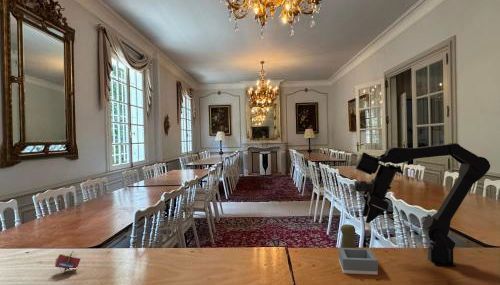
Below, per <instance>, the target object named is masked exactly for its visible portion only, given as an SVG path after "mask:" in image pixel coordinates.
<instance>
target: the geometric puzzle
mask: <svg viewBox="0 0 500 285" xmlns="http://www.w3.org/2000/svg"><path fill="white" fill-rule="evenodd" d="M67 253H69V251H68V252H66V254H67ZM66 254H63V253H62V254H60V253H59V255H58V256H57V258H56V259H55V262H54V267H55V268H57V269H58V268H59V270H60V271H62V270H61V268H62V269H64V270H65V269H66V270H68V271H71V270H70V269H69V268H76V267H77V268H78V266H79V264H80V262H81V258H79V257H77V256H76V255H77V254H76V252H74V251H71V253H70V254H69V255H66ZM73 254H74V255H73ZM75 254H76V255H75Z"/></svg>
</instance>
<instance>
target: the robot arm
mask: <svg viewBox="0 0 500 285" xmlns="http://www.w3.org/2000/svg"><path fill="white" fill-rule="evenodd" d="M443 156H444V157H445V156H450V157H452V159H454V160H455V161H456V162H457V163H459V164H460V165H459V168H458V177H457V178H456V180H455V182H454V184H453V186H452V187H451V189H450V191H449V192H448V194H447V195H446V197H445V199H444V200H443V202H442V204H441V205H440V206H439V207H438V209H437V212H436V213H434V214H433V215H431V214H427V215H426V218H425V219H424V221H423V222H421V224H422V232H423V234H424V235H425V236H426V237H427V238H428V239H429V241H431V242H429V246H428V248H427V251H428V252H427V259H428V260H429V261H430V262H431V263H432V264H433V265H434V266H438V267H439V266H440V267H441V266H442V267H456V266H457V264H456V263H454V249H455V246H456V242H455V241H454V240H452V239H451V238H450V237H449V233H450V230H451V223H452V222H451V221H452V219H453V217H454V216H455V214H457V212H458V209H459V208H460V206H461V205H462V204H463V201H464V200H465V198H466V196H467V195H468V193H469V191H470V190H471V189H472V187H473V186H474V184H476V183H477V182H478V181H479V180H481V179H482V178H484V176H486V174H487V173H488V172H489V170H490V169H491V164H490V161H489V159H487V158H486V157H484V156H479V155H477V154H475V153H473V152H471V151H470V150H468V149H466V148H465V147H464V146H461V144H459V143H456V142H455V143H454V142H453V143H451V142H450V143H446V144H438V145H437V144H436V145H429V146H420V147H398V146H396V147H395V146H394V147H393V146H391V147H387V149H385V151H384V153H383V154H380V155H378V156H377V157H376V156H373V155H371V154H369V153H366V152H362V154H361V155H360V157H359V159H358V160H357V162H356V164H355V170H357V171H359V172H362V173H365V174H366V175H369V176H371V175H372V174H373V175H374V174H375V177H374V178H372V179H371V180H370V181H366V180H360V181H358V180H354V186H353V187H354V188H353V189H354V192H357V193H358V192H362V197H363V200H364V206H363V210H362V217H366V219H365V223H366V224H370V223H372V222H373V221H374V220H375V219H376V218H377V217H378V216H380V215H381V214H383V213H385V211H388V209H389V207H390V204H389V201H388V200H387V197H386V196H387V194H388V192H389V190H391V189H392V187H391V185H392V183H393V180H394V178H395V177H396V174H397V173H398V174H401V175H402V174H404V171H403V170H402V166H400V164H402V163H407V162H410V161H412V160H416V159H423V158H424V159H425V158H435V157H443ZM380 162H381V163H380ZM382 163H383V164H382ZM384 164H386V165H384ZM393 164H394V165H393ZM395 165H397V166H395Z"/></svg>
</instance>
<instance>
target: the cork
mask: <svg viewBox="0 0 500 285" xmlns="http://www.w3.org/2000/svg"><path fill="white" fill-rule="evenodd" d="M340 232H341V233H342V234H341V243H340V248H357V246H356V240H355V233H356V228H355V226H354V225H352V224H350V223H349V224H346V223H345V224H342V225H341V226H340Z"/></svg>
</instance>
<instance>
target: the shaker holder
mask: <svg viewBox="0 0 500 285" xmlns="http://www.w3.org/2000/svg"><path fill="white" fill-rule="evenodd" d="M338 261H339V265H340V267H341V270H342V273H343V274H354V275H355V274H356V275H379V273H378V272H379V270H378V269H379V268H378V267H379V266H378V265H379V263H378V262H379V261H378V259H377V258H376V255H375V254H374V253H373V252H372V250H371V248H365V247H364V248H363V247H362V248H361V247H356V248H341V247H338Z"/></svg>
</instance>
